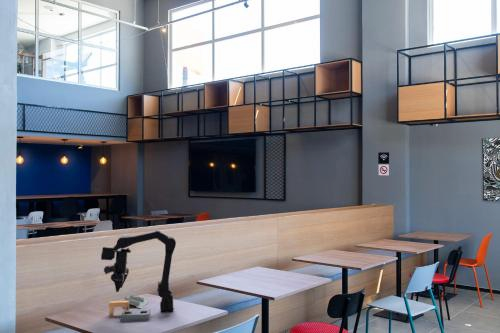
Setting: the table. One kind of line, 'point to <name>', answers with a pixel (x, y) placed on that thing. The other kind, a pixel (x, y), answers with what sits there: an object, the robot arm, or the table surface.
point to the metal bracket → (136, 301)
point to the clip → (118, 304)
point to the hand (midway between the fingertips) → (119, 289)
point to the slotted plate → (135, 315)
